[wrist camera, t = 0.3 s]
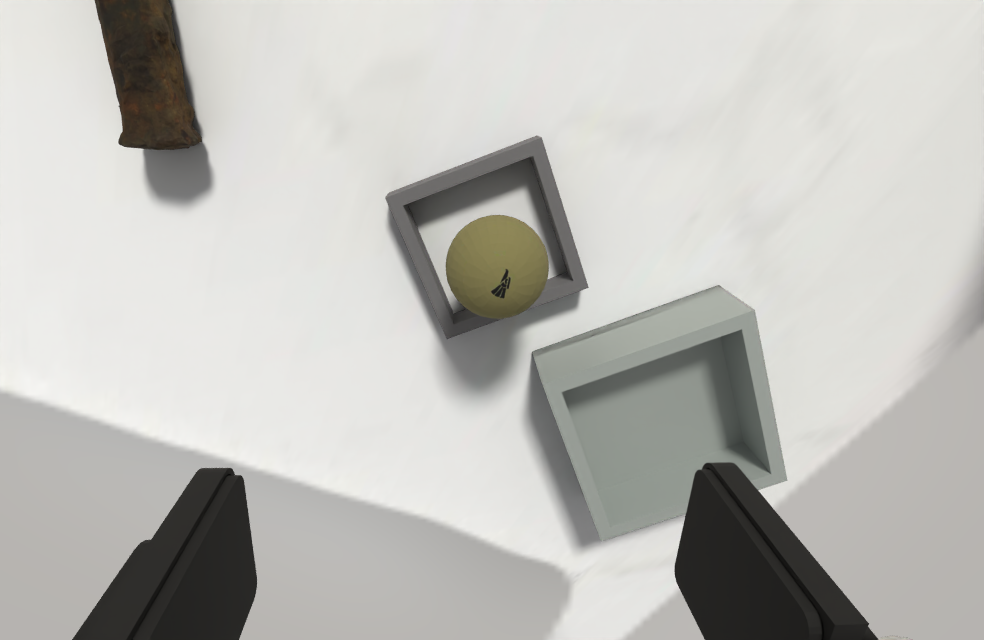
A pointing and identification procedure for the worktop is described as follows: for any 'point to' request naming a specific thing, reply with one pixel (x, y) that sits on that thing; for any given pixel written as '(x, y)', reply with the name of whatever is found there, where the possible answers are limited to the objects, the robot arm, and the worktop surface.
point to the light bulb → (497, 266)
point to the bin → (662, 407)
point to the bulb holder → (463, 173)
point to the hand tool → (147, 74)
